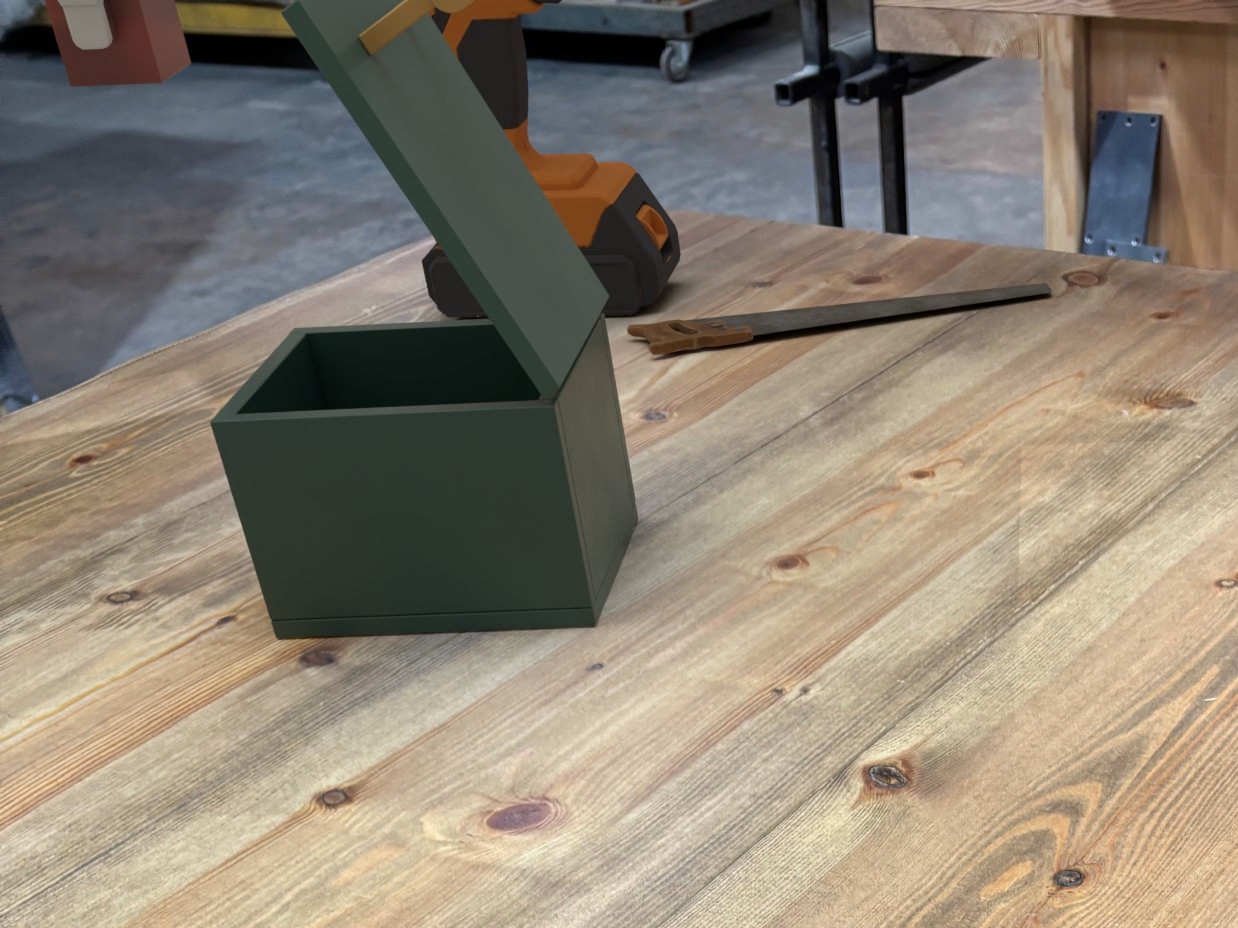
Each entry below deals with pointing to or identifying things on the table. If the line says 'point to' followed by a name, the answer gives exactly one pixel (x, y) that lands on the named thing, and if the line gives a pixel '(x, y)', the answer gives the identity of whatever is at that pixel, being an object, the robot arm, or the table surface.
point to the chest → (427, 481)
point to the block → (126, 45)
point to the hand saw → (806, 318)
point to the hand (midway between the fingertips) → (120, 34)
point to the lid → (457, 172)
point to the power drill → (556, 174)
